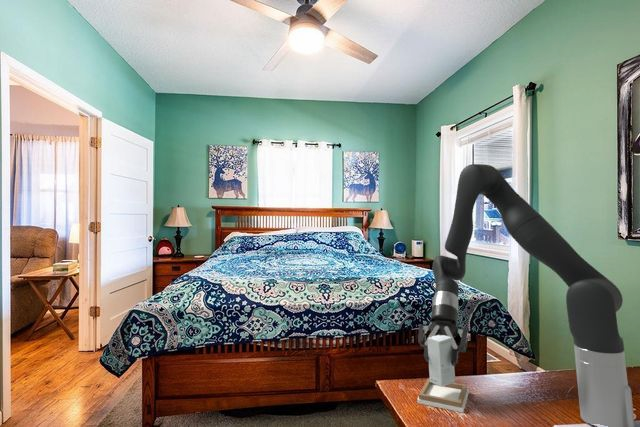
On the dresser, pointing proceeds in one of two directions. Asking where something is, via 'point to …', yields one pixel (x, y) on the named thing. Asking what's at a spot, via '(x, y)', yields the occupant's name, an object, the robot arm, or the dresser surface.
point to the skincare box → (440, 360)
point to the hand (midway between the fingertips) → (440, 362)
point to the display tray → (444, 396)
